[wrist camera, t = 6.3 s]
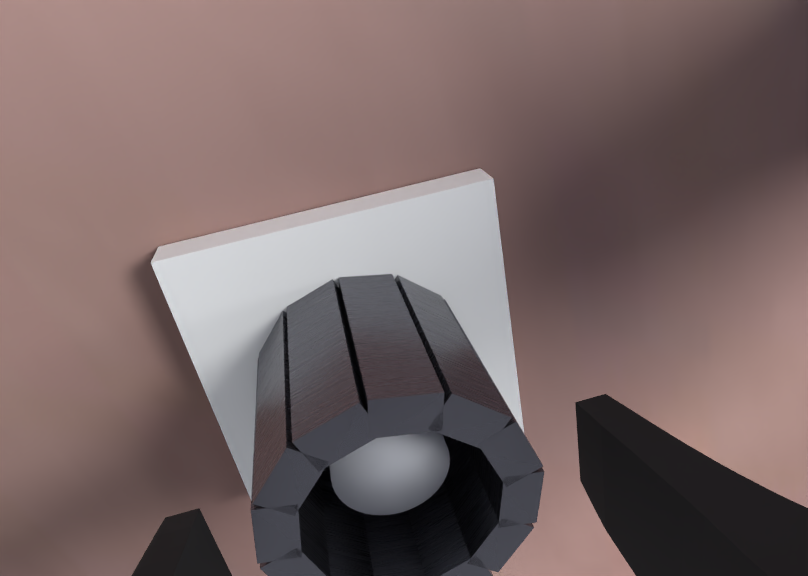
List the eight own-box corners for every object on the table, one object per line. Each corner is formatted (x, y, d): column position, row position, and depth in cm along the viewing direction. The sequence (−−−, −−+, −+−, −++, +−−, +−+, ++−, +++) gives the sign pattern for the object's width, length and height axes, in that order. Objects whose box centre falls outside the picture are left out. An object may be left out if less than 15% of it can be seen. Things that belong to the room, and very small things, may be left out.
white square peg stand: (480, 168, 15) (568, 237, 10) (512, 416, 18) (588, 546, 14) (158, 246, 14) (105, 357, 10) (258, 489, 18) (252, 651, 13)
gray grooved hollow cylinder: (472, 268, 15) (558, 380, 10) (460, 441, 17) (525, 593, 13) (250, 282, 14) (239, 414, 9) (268, 463, 16) (266, 637, 12)
